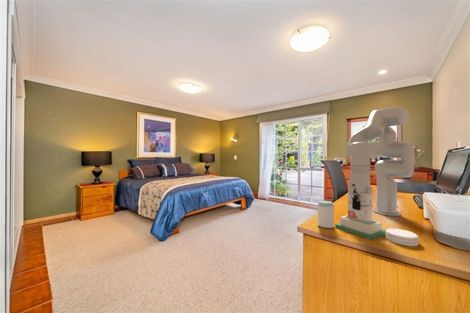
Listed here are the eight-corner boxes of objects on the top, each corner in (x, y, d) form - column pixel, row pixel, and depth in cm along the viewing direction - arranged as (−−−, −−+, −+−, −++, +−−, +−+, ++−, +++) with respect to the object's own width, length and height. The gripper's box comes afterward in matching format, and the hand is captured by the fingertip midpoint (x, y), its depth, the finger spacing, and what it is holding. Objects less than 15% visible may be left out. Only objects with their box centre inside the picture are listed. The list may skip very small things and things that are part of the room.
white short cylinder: (425, 247, 72) (425, 238, 72) (396, 246, 73) (396, 237, 73) (405, 236, 82) (405, 228, 82) (380, 235, 83) (380, 227, 83)
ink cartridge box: (347, 216, 90) (347, 185, 90) (352, 214, 93) (352, 184, 93) (367, 221, 83) (368, 187, 83) (372, 219, 86) (372, 186, 86)
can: (334, 225, 94) (334, 201, 94) (333, 230, 88) (333, 204, 88) (319, 222, 98) (319, 199, 98) (316, 227, 92) (316, 202, 92)
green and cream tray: (349, 222, 98) (349, 213, 98) (386, 234, 84) (386, 222, 84) (335, 227, 92) (335, 216, 92) (372, 240, 78) (372, 227, 78)
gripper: (361, 168, 95) (361, 204, 95) (340, 169, 87) (340, 209, 87) (378, 169, 89) (378, 208, 89) (358, 170, 80) (358, 213, 80)
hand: (359, 208), depth 88 cm, fingers closed on ink cartridge box, 5 cm apart
